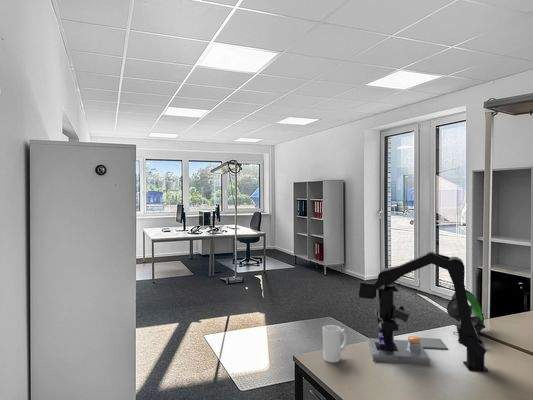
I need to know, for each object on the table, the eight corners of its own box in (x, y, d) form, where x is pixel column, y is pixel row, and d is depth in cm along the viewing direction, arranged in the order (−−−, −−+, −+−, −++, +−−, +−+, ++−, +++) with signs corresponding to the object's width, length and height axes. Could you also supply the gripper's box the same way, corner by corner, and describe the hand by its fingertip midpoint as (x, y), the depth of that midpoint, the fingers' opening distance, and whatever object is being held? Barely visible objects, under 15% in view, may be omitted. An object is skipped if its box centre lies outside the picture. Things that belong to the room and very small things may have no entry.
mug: (328, 364, 139) (327, 332, 139) (319, 356, 146) (319, 326, 146) (351, 360, 143) (351, 328, 142) (342, 353, 149) (342, 323, 149)
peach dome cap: (421, 347, 145) (421, 340, 144) (409, 346, 145) (409, 340, 145) (418, 343, 149) (418, 336, 149) (407, 342, 150) (407, 335, 150)
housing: (428, 364, 139) (428, 350, 139) (373, 360, 142) (373, 347, 142) (418, 347, 154) (418, 334, 154) (368, 344, 158) (368, 332, 158)
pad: (447, 349, 152) (447, 348, 152) (421, 348, 153) (421, 346, 153) (440, 340, 162) (440, 338, 162) (416, 338, 163) (416, 337, 163)
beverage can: (382, 348, 153) (382, 319, 153) (396, 352, 149) (395, 322, 149) (376, 353, 148) (376, 323, 148) (390, 357, 145) (390, 326, 145)
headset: (461, 359, 162) (474, 313, 182) (492, 355, 152) (502, 307, 172) (435, 327, 162) (451, 285, 181) (464, 322, 152) (477, 277, 171)
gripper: (412, 309, 138) (412, 351, 138) (402, 295, 156) (402, 332, 157) (381, 307, 140) (381, 349, 140) (375, 294, 158) (375, 331, 158)
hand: (386, 340), depth 149 cm, fingers closed on beverage can, 6 cm apart
